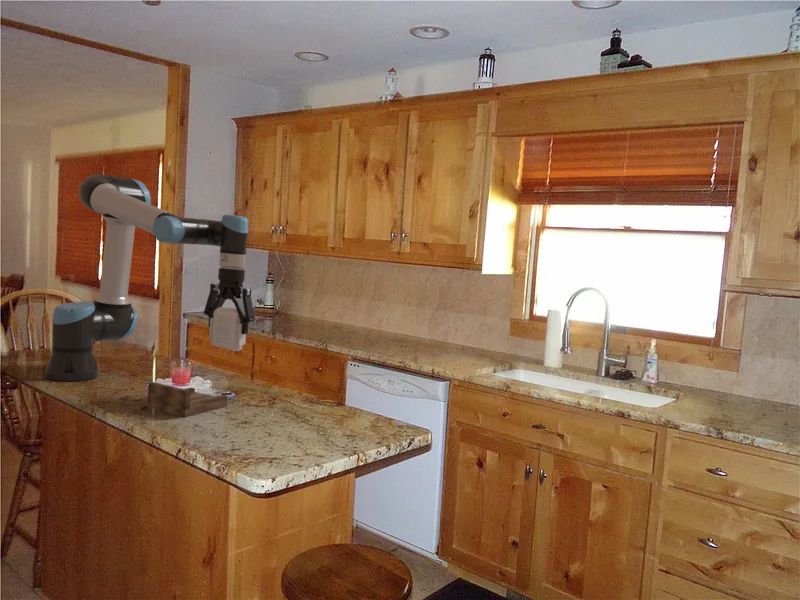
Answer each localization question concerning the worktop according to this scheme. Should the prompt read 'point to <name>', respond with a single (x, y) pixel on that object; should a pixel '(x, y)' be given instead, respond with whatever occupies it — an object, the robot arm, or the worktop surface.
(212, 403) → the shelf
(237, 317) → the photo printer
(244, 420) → the worktop surface
